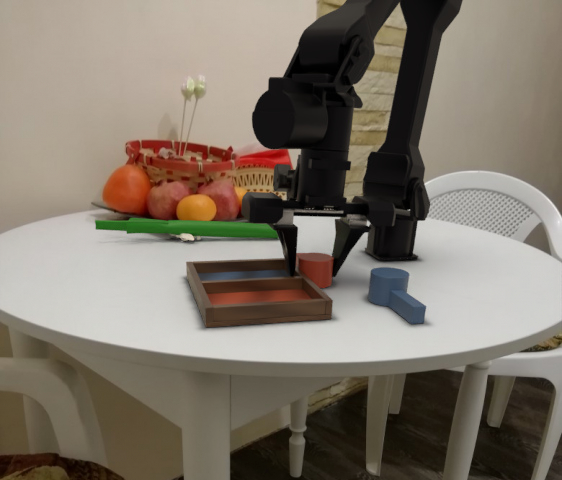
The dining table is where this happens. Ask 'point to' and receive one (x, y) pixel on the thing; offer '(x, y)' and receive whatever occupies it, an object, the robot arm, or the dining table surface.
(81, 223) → the dining table surface
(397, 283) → the blue cylinder with handle
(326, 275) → the red cylinder-ended block
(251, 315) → the sorting tray
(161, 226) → the green stepped bar
